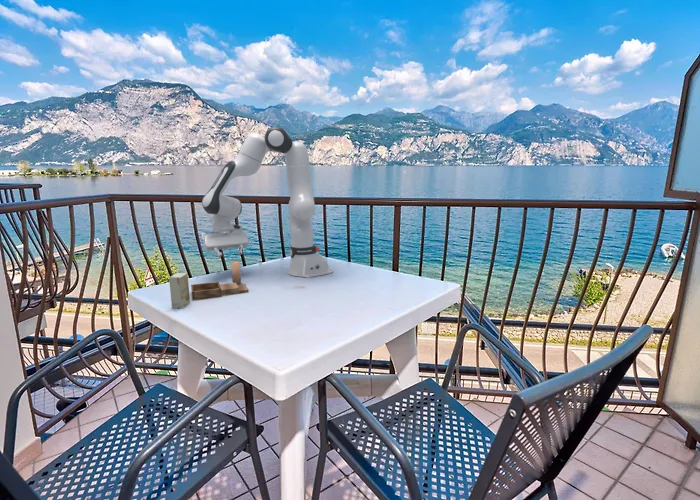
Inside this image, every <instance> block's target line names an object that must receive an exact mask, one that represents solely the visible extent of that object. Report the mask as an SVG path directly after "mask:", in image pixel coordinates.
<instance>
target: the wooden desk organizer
mask: <svg viewBox="0 0 700 500" xmlns="http://www.w3.org/2000/svg"><path fill="white" fill-rule="evenodd" d="M190 287H191V296H192V297H191V300H192V301H199V300H206V299H207V300H209V299H215V298H222V297H223V296H231V295H232V296H233V295H238V294H240V295H241V294H247V293H249V291H250V290H249V288H248V286H247V284H245V283H244V284H243V283H242V284H241V285H237V284H236V283H233V282H229V283H221V284H220V281H212V282H204V283H194V284H193V283H192V284H190Z"/></svg>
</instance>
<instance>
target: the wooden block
mask: <svg viewBox="0 0 700 500" xmlns="http://www.w3.org/2000/svg"><path fill="white" fill-rule="evenodd" d="M230 263H231V276H232V283H236V284H237V285H242V277H241V276H242V275H241V261H239V260H234V261H231V262H230Z"/></svg>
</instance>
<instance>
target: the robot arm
mask: <svg viewBox="0 0 700 500" xmlns="http://www.w3.org/2000/svg"><path fill="white" fill-rule="evenodd" d="M307 148H308V147H307V146H306V145H305V143H303V142H300V141H293V139H292V138H291V137H290V134H289V133H288V132H287V130H286V129H285V128H283V127H281V126H277V125H276V126H275V125H274V126H271V127H269V128H268V129H267V131H266V132H265V134H263V135H262V134H260V133H257V132H252V133H251V132H250V133H249V134H248V135H247V136H246V138H245V140H244V141H243V143H242V145H241V148H240V150H239V152H238V154H236V156H235V158H233V159H232V160H229V161H228V162H226V164H224V166H223V168H222V169H221V171H220V172H219V174H218V176H217V177H216V179H215V181H214V182H213V183H212V185H211V187H210V189H209V190H208V191H207V192H206V194H205V195H204V196H203V197H202V201H201V206H202V208H203V210H204V211H205V213H207V215H208V218H209V223H210V224H211V228H212V231H209V232H203V233H202V234H201V240H202V241H203V248H204V250H205V251H206V252H211V251H213V253H215V254H216V255H217V257H218V258H221V257H222V256H223V254H222V252H221V251H219V250H227V249H228V250H229V249H237V248H238V251H237V253H238V255H239V256H241V255H243V248H246V247H248V246H249V243H250V240H249V237H248V235H247V233H246V231H245V230H243V226H242V225H240V224H234V223H231V222H232V221H234V220H235V219H237V218H238V217H239V216H240V215H241V214H242V212H243V206H242V201H241V200H239V199H238V198H235V197H233V196H227V195H224V194H223V193H224V192H225V190H226V188H227V187H228V185H229V183H230V182H231V181H232V180H233V179H235V178H237V177H238V178H239V177H249V176H252V175H255V174H257V172H258V171H259V170H260V168H261V166H262V163H263V160H264V158H265V156H266V155H267V153H268V152H273V153H280V154H283V155H284V159H285V165H286V175H287V177H286V178H287V185H288V190H289V197H290V199H289V202H288V217H289V218H288V219H289V228H290V229H289V230H290V245H289V257H290V261H289V262H290V263H289V268H288V272H287V273H288V274H289V275H290V276H293V277H300V278H301V277H302V278H307V279H308V278H309V279H310V278H314V277H318V276H323V275H324V276H325V275H329V274H333V268H331V267H330V266H329V263H328V260H327V259H326V258H325V257H324V256H323V255H322V254H320V253H319V251H320V250H321V248H320V247H319V246H316V245H314V228H313V223H312V217H313V216H314V215H315V213H316V205H315V198H314V191H313V187H312V179H311V166H310V157H309V153H308V149H307Z"/></svg>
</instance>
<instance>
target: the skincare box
mask: <svg viewBox="0 0 700 500" xmlns="http://www.w3.org/2000/svg"><path fill="white" fill-rule="evenodd" d="M168 280H169V281H168V282H169V289H170V291H169V292H170V302H171V309H184V308H186V306H188V305H190V304H191V299H190V288H189V287H190V285H189V276H188V272H187V273H185V272H177V273H174V274H172V275H171V276H170V277H169V278H168Z"/></svg>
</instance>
